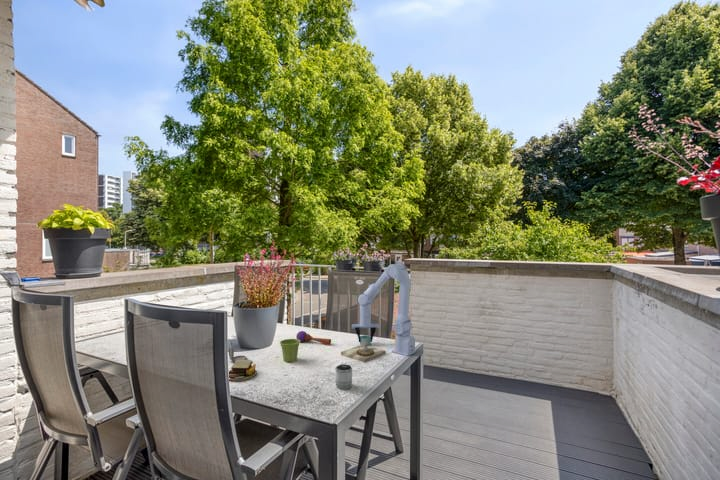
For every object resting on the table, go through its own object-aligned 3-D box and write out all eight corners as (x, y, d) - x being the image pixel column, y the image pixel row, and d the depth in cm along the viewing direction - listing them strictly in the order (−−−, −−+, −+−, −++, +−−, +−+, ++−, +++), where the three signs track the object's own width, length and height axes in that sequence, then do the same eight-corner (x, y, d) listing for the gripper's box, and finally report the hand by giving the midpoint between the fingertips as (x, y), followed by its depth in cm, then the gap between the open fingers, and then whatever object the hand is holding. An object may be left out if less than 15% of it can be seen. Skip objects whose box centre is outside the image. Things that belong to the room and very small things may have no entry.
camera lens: (339, 382, 136) (339, 362, 136) (354, 384, 133) (354, 364, 133) (332, 388, 130) (332, 367, 130) (347, 391, 127) (347, 370, 127)
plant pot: (275, 360, 160) (275, 341, 160) (292, 355, 167) (292, 337, 167) (287, 365, 154) (287, 345, 154) (304, 359, 161) (304, 341, 161)
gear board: (385, 353, 170) (385, 342, 170) (364, 362, 158) (364, 350, 158) (362, 347, 180) (362, 336, 180) (340, 354, 168) (341, 343, 168)
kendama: (327, 339, 181) (294, 332, 188) (327, 349, 182) (294, 343, 189) (332, 334, 186) (299, 328, 193) (332, 344, 188) (300, 338, 195)
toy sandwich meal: (218, 381, 136) (218, 369, 136) (234, 369, 150) (234, 358, 150) (248, 383, 135) (248, 371, 135) (262, 370, 149) (262, 359, 149)
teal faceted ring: (372, 344, 185) (372, 336, 185) (365, 346, 181) (365, 338, 181) (364, 342, 189) (364, 334, 189) (358, 344, 185) (358, 336, 185)
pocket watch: (249, 358, 162) (249, 337, 162) (236, 364, 154) (236, 342, 154) (236, 356, 165) (236, 335, 165) (222, 362, 158) (222, 340, 158)
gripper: (378, 314, 190) (378, 339, 190) (351, 314, 189) (351, 339, 189) (379, 317, 183) (379, 343, 183) (352, 317, 182) (352, 343, 182)
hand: (365, 341), depth 185 cm, fingers closed on teal faceted ring, 6 cm apart
